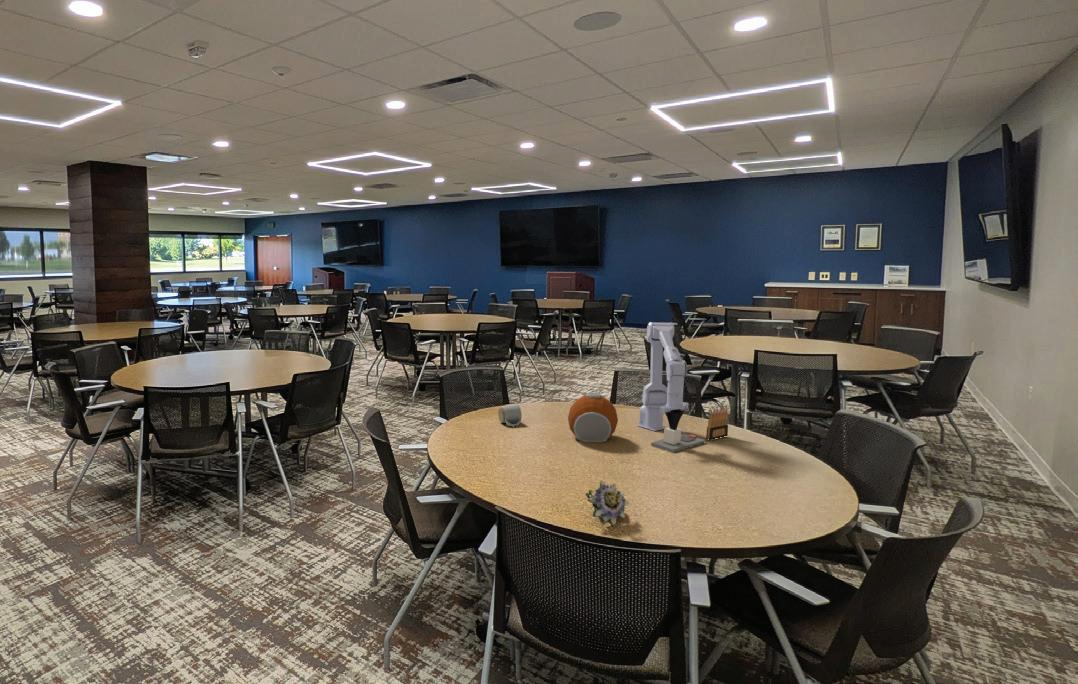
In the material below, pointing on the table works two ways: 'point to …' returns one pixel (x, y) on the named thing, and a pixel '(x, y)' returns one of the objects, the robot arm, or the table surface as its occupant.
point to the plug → (672, 436)
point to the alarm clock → (592, 418)
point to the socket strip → (685, 443)
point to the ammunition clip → (717, 424)
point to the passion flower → (608, 502)
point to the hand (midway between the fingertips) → (673, 429)
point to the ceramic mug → (510, 415)
